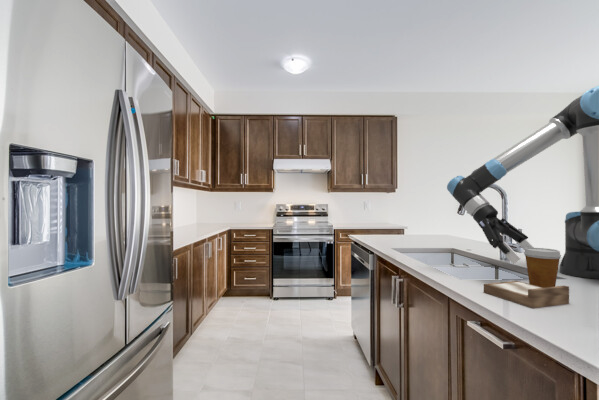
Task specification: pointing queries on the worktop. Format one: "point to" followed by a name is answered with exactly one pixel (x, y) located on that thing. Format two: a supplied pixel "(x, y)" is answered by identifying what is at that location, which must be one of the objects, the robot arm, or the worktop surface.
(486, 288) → the dock board
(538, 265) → the disposable coffee cup
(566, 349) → the worktop surface
